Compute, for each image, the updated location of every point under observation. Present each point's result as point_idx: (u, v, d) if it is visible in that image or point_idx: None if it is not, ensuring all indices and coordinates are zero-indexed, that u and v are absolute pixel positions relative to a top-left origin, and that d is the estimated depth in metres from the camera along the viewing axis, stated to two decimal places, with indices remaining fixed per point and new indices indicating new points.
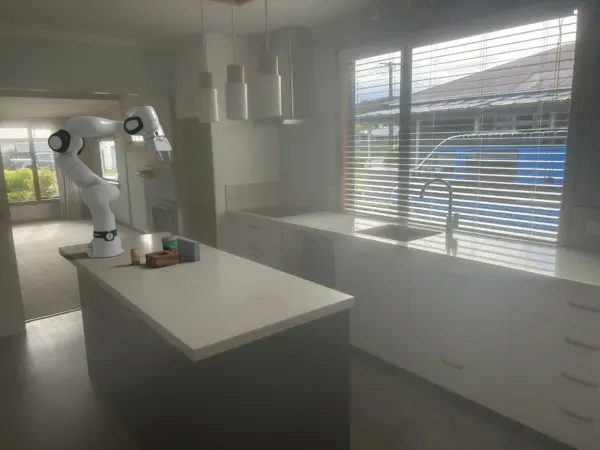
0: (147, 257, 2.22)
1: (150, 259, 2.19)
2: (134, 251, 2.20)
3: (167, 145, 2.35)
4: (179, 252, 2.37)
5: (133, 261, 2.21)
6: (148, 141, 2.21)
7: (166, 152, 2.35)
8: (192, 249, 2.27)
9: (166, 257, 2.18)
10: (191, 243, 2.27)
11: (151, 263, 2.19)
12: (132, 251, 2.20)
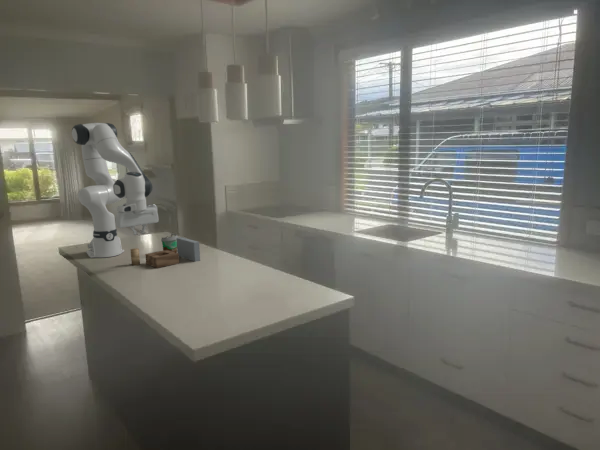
0: (147, 257, 2.22)
1: (150, 259, 2.19)
2: (134, 251, 2.20)
3: (149, 217, 2.14)
4: (179, 252, 2.37)
5: (133, 261, 2.21)
6: (117, 214, 2.05)
7: (142, 225, 2.14)
8: (192, 249, 2.27)
9: (166, 257, 2.18)
10: (191, 243, 2.27)
11: (151, 263, 2.19)
12: (132, 251, 2.20)
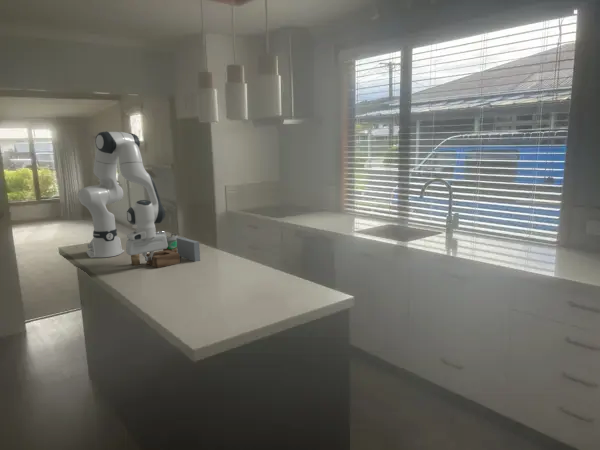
0: None
1: None
2: None
3: (159, 244, 2.19)
4: (179, 252, 2.37)
5: (133, 261, 2.21)
6: (127, 242, 2.11)
7: (150, 252, 2.18)
8: (192, 249, 2.27)
9: (167, 257, 2.19)
10: (191, 243, 2.27)
11: (152, 263, 2.20)
12: None
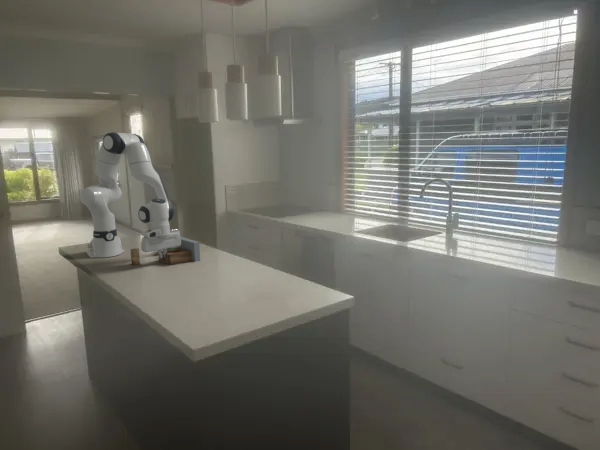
0: None
1: None
2: (134, 251, 2.20)
3: (173, 241, 2.24)
4: None
5: (133, 261, 2.21)
6: (142, 239, 2.16)
7: (163, 249, 2.23)
8: (192, 249, 2.27)
9: (180, 254, 2.23)
10: (191, 243, 2.27)
11: (165, 260, 2.24)
12: (132, 251, 2.20)
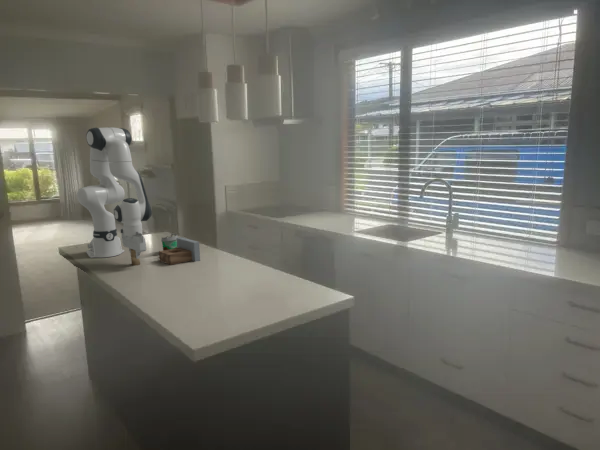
0: (161, 254, 2.27)
1: (164, 256, 2.25)
2: (134, 251, 2.20)
3: (135, 245, 2.16)
4: None
5: (133, 261, 2.21)
6: None
7: None
8: (192, 249, 2.27)
9: (180, 254, 2.23)
10: (191, 243, 2.27)
11: (165, 260, 2.24)
12: (132, 251, 2.20)
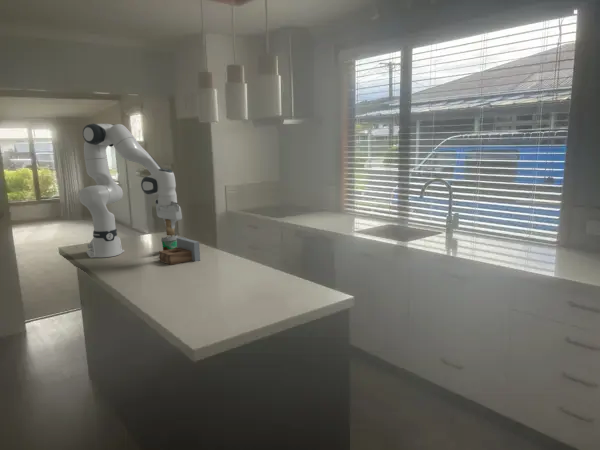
0: (161, 254, 2.27)
1: (164, 256, 2.25)
2: (169, 221, 2.22)
3: (170, 214, 2.18)
4: None
5: (168, 231, 2.23)
6: None
7: None
8: (192, 249, 2.27)
9: (180, 254, 2.23)
10: (191, 243, 2.27)
11: (165, 260, 2.24)
12: (167, 221, 2.22)
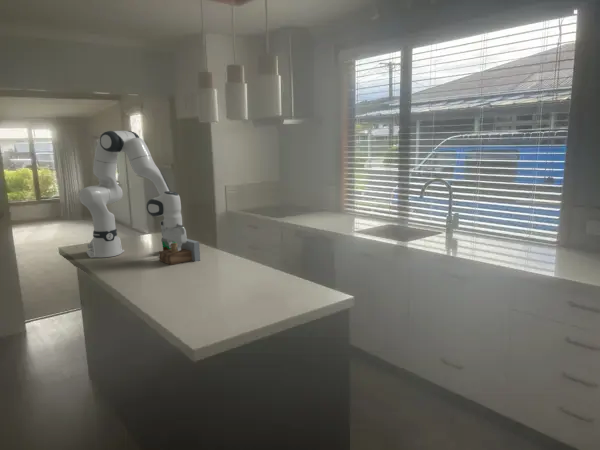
0: (161, 254, 2.27)
1: (164, 256, 2.25)
2: (174, 245, 2.25)
3: (176, 236, 2.21)
4: None
5: None
6: None
7: None
8: (192, 249, 2.27)
9: (180, 254, 2.23)
10: (191, 243, 2.27)
11: (165, 260, 2.24)
12: (172, 245, 2.25)
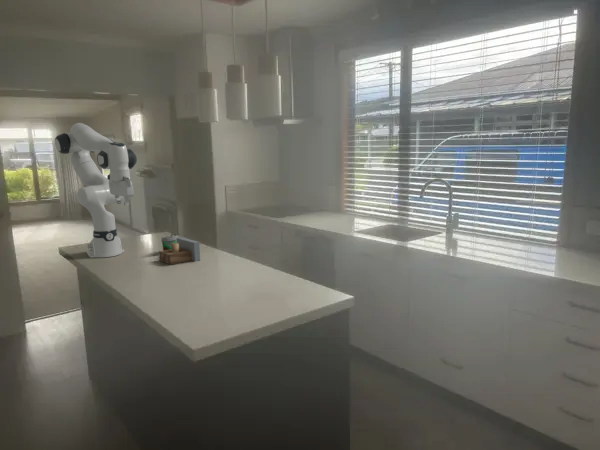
0: (161, 254, 2.27)
1: (164, 256, 2.25)
2: (175, 245, 2.26)
3: (122, 190, 2.08)
4: None
5: None
6: None
7: None
8: (192, 249, 2.27)
9: (180, 254, 2.23)
10: (191, 243, 2.27)
11: (165, 260, 2.24)
12: (173, 245, 2.26)
